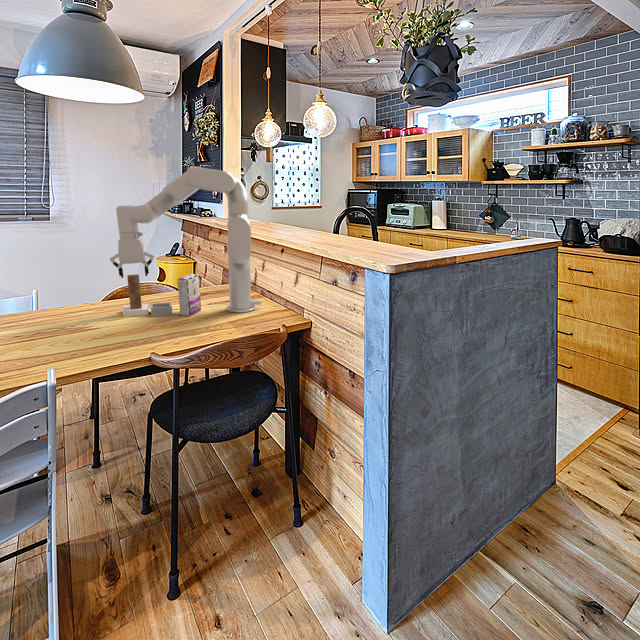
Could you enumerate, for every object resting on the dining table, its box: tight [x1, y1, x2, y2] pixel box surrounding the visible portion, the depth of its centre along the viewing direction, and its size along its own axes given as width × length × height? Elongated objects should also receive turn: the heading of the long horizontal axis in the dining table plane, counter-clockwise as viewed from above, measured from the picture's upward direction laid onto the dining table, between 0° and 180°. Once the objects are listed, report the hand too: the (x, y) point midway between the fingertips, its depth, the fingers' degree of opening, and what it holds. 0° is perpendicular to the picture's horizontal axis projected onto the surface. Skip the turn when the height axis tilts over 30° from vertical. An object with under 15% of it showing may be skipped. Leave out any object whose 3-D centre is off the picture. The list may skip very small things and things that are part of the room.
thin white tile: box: [122, 303, 149, 318], centre depth 203 cm, size 10×10×2 cm
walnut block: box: [126, 274, 142, 309], centre depth 201 cm, size 4×4×14 cm
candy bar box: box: [176, 273, 202, 317], centre depth 203 cm, size 11×5×16 cm, turn 168°
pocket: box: [150, 301, 173, 317], centre depth 203 cm, size 9×9×4 cm
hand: (134, 276), depth 199 cm, fingers open, 9 cm apart
